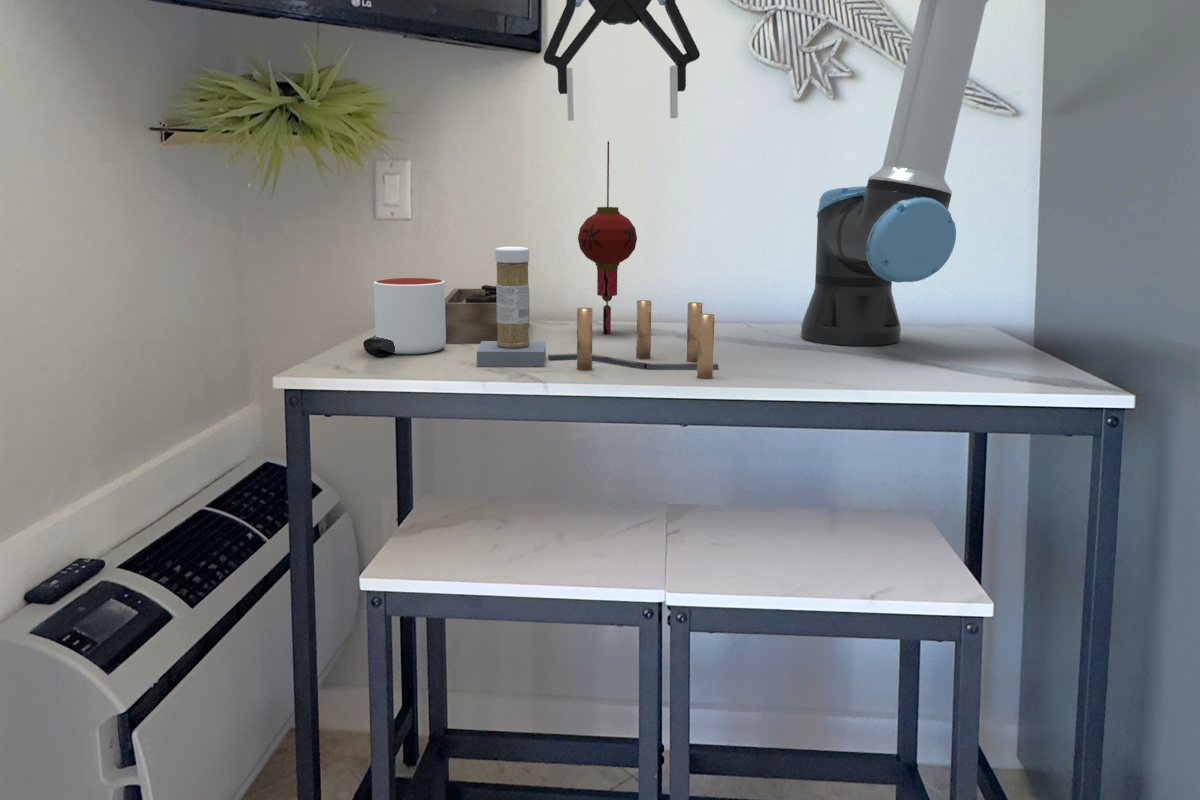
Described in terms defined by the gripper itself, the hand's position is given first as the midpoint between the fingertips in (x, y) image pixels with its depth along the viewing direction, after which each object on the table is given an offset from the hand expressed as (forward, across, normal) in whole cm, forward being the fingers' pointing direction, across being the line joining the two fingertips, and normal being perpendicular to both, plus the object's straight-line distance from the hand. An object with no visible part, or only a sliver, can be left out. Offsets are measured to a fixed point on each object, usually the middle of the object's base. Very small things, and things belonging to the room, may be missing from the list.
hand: (622, 119), depth 144 cm
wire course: (+32, 0, +5) cm, 33 cm away
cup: (+32, +31, -8) cm, 45 cm away
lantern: (+32, +2, -25) cm, 41 cm away
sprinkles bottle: (+30, +16, 0) cm, 34 cm away
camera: (+32, +21, -24) cm, 45 cm away
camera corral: (+32, +21, -25) cm, 46 cm away
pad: (+32, +16, 0) cm, 35 cm away
